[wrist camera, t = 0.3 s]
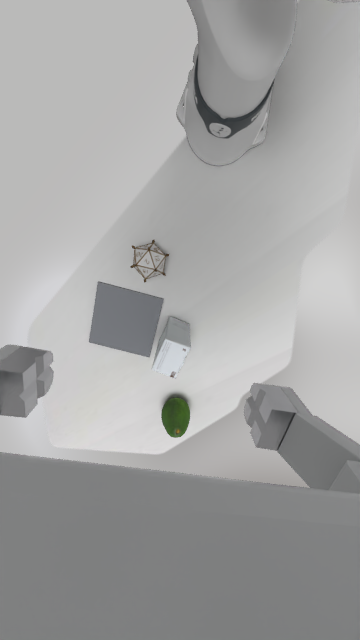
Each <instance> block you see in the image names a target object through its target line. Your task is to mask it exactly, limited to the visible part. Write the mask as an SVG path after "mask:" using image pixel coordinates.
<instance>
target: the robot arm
mask: <svg viewBox="0 0 360 640" xmlns="http://www.w3.org/2000/svg"><path fill="white" fill-rule="evenodd" d="M328 1H332V2H335V3H345V2H360V0H328ZM187 2H188V4H189V6H190V9H191V11H192V13H193V16H194V19H195V21H196V25H197V29H198V44H197V46H196V48H195V52H194V56H193V62H194V63H195V64H194V66H193V69H192V70H190V72H189V76H188V82H187V85H186V87H185V90H184V92H183V95H182V98H181V100H180V103H179V105H178V108H177V118H178V120H179V122H180V123H181V125H182V126H183V127H184V129H185V131H186V134H187V138H188V141H189V144H190V146H191V148H192V150H193V151H194V153H195V154H196V155H197V156H198V157H199V158H200V159H201V160H203V161H204V162H206V163H208V164H211V165H217V166H221V165H227V164H230V163H232V162H234V161H236V160H237V159H239V158H240V157H241V156H242V155H243V154H244V153H245V152H246V151H247V150H249V149H250V148H253V147H255V146H258V145H259V144H261V143H262V142H263V141H264V139H265V136H266V130H267V123H268V116H269V109H270V102H271V95H272V89H273V83H274V79H275V76H276V74H277V72H278V70H279V68H280V66H281V64H282V62H283V60H284V58H285V56H286V54H287V52H288V50H289V47H290V45H291V42H292V39H293V35H294V31H295V25H296V17H297V0H187ZM183 106H184V107H183ZM261 129H262V131H261ZM52 362H53V353H52V352H51V351H46V350H41V349H35V348H29V347H23V346H17V345H6V346H4V347H3V348H1V349H0V415H6V416H15V417H27V416H28V414H29V413H30V412H31V411H32V410H33V408H34V407H35V406H36V405H37V399H38V398H40V397H42V396H44V395H45V394H46V393H47V392H48V390H49V389H50V386H51V384H52V381H53V370H52V369H51V367H50V366H49V365H50V364H51V363H52ZM250 393H251V395H252V396H251V397H249V398H248V399H247V400H246V403H245V406H244V416H245V420H246V422H247V424H248V425H249V426H250V427H251V428H252V429H251V432H250V433H251V436H252V438H253V441H254V443H255V446H256V447H257V448H264V449H270V450H276V451H278V453H279V454H280V455H281V456H282V457H283V458H284V459H285V461H286V462H287V463H288V464H289V465H290V466H291V467H292V468H293V469H294V470H295V472H296V473H297V474H298V475H299V476H300V477H301V478H302V479H303V480H304V481H305V482H306V484H307V485H308V486H309V487H310V488H304V487H296V486H286V485H277V484H270V483H261V482H253V481H243V480H236V479H227V478H219V477H210V476H202V475H193V474H184V473H175V472H166V471H159V470H150V469H140V468H132V467H124V466H115V465H106V464H98V463H89V462H79V461H71V460H63V459H54V458H45V457H36V456H27V455H19V454H10V453H2V452H0V640H360V445H359V444H358V443H356V442H355V441H353V440H352V439H350V438H349V437H347V436H346V435H344V434H343V433H341V432H340V431H338V430H336V429H335V428H334V427H332V426H330V425H329V424H328V423H326V422H325V421H323V420H322V419H320V418H319V417H317V416H313V415H312V414H311V413H310V411H309V410H308V409H307V408H306V406H305V405H304V404H303V403H302V401H301V400H300V399H299V397H298V396H297V395H296V393H295V392H294V391H293V389H291V388H290V387H284V386H274V385H266V384H259V383H253V385H252V386H251V389H250Z"/></svg>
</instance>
